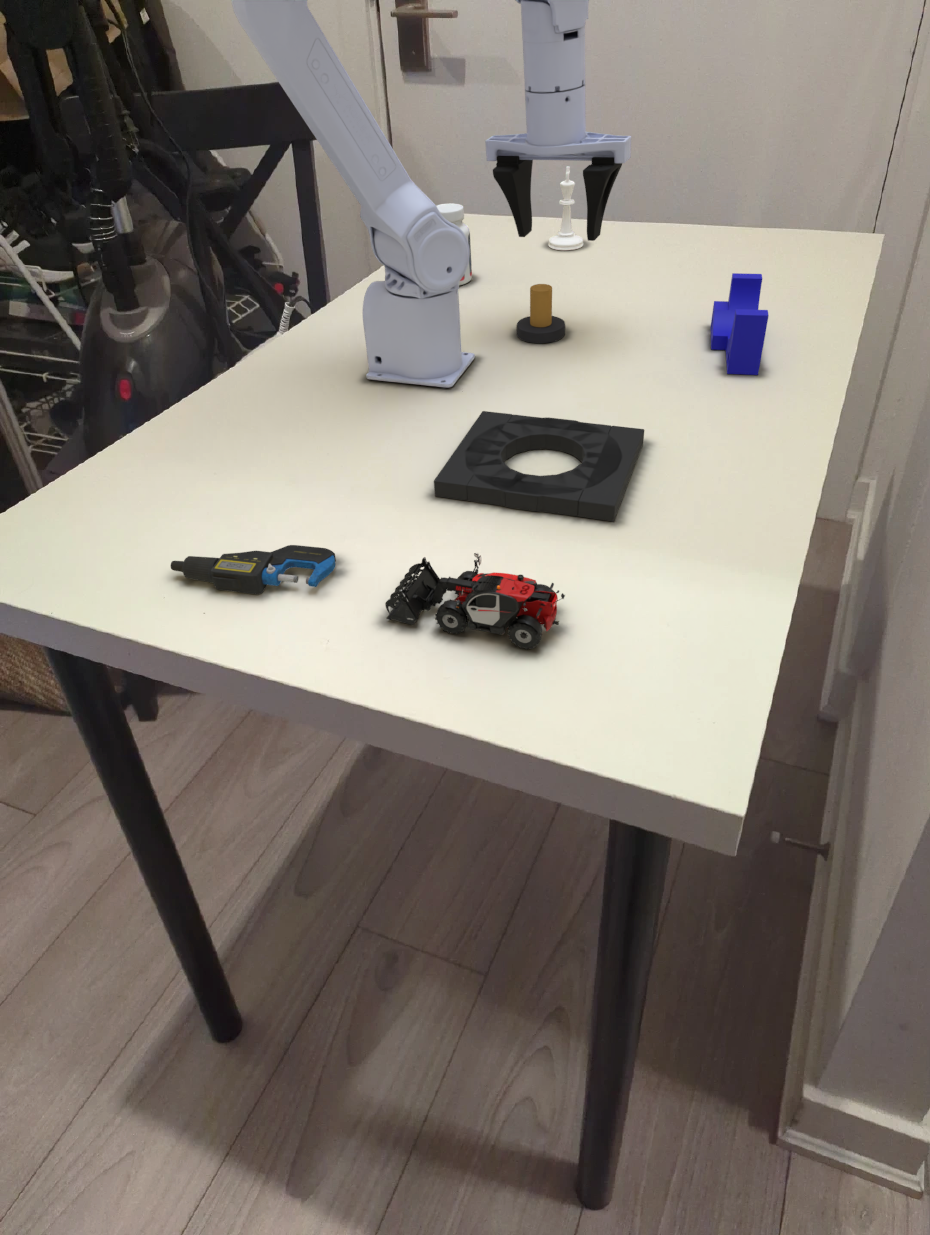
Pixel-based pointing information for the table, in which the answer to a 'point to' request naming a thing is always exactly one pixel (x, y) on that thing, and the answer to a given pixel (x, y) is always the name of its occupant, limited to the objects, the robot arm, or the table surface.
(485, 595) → the loader
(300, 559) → the micrometer
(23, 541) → the table surface
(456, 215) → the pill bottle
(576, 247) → the chess piece
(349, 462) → the table surface
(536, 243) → the table surface
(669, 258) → the table surface
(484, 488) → the socket pad
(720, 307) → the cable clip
